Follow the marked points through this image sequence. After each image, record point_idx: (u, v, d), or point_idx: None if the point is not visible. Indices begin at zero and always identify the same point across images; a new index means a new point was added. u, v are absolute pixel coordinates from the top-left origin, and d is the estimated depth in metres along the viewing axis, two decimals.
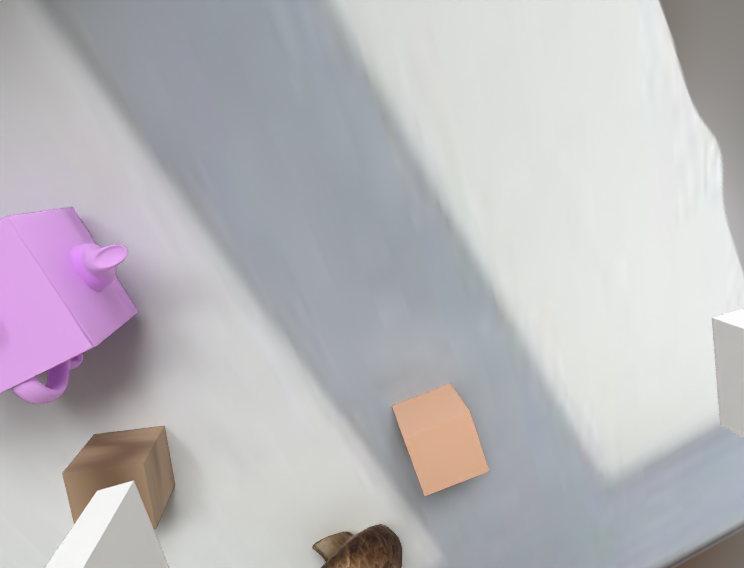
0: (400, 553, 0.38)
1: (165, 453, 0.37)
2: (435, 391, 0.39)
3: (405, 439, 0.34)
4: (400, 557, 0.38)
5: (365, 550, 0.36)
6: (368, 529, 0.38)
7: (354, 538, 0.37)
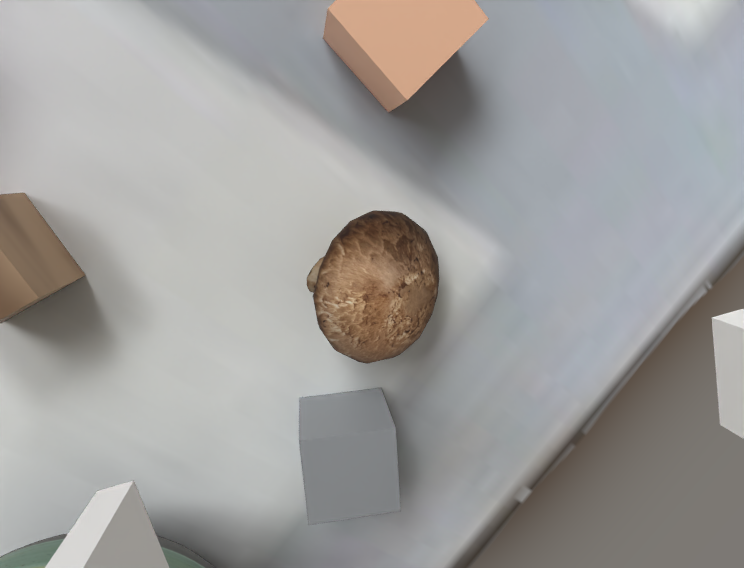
0: (424, 234, 0.26)
1: (39, 225, 0.25)
2: None
3: (332, 9, 0.21)
4: (426, 238, 0.25)
5: (361, 227, 0.23)
6: (363, 216, 0.25)
7: (344, 228, 0.24)
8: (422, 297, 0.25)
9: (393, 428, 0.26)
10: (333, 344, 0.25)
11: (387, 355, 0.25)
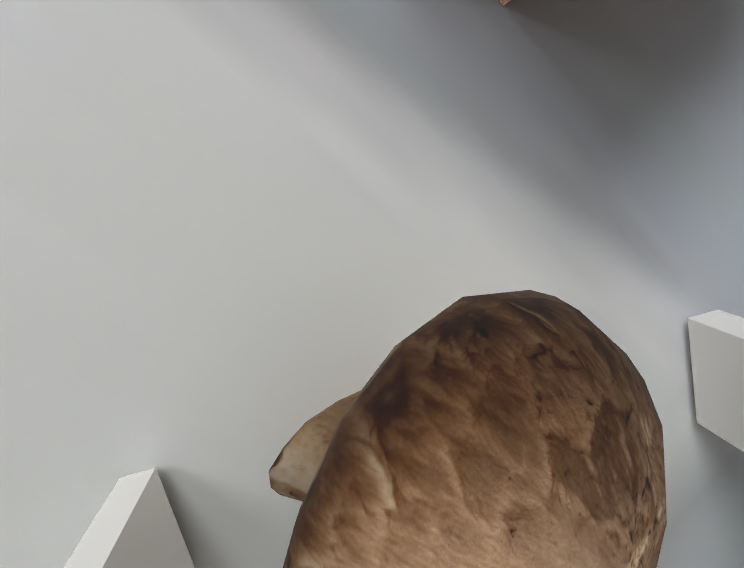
0: (632, 366, 0.08)
1: None
2: None
3: None
4: (641, 382, 0.08)
5: (456, 381, 0.06)
6: (442, 311, 0.08)
7: (385, 363, 0.07)
8: None
9: None
10: None
11: None
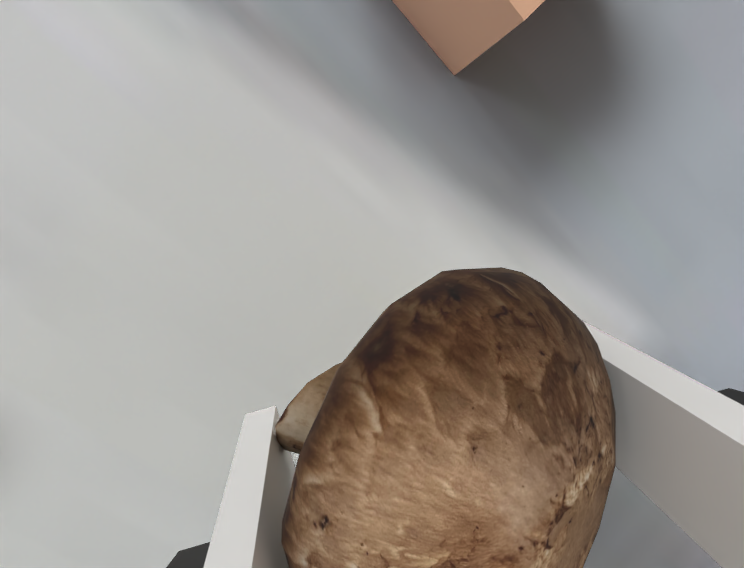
0: (587, 331, 0.10)
1: None
2: None
3: None
4: (594, 345, 0.09)
5: (432, 334, 0.07)
6: None
7: (375, 324, 0.08)
8: (592, 517, 0.09)
9: None
10: None
11: None
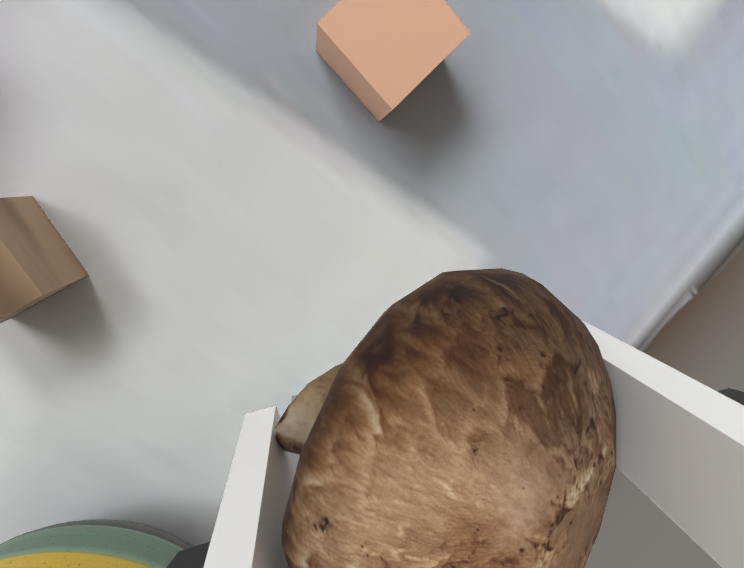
0: (587, 332, 0.10)
1: (45, 227, 0.26)
2: None
3: (321, 24, 0.22)
4: (594, 346, 0.09)
5: (433, 336, 0.07)
6: None
7: (375, 325, 0.08)
8: (593, 519, 0.09)
9: None
10: None
11: None
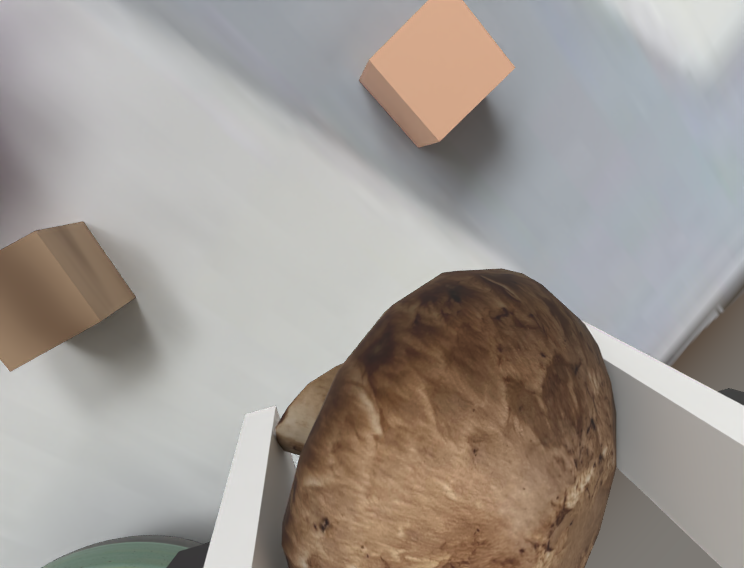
0: (587, 332, 0.10)
1: (96, 252, 0.27)
2: None
3: (372, 60, 0.23)
4: (595, 346, 0.09)
5: (433, 336, 0.07)
6: None
7: (375, 325, 0.08)
8: (593, 519, 0.09)
9: None
10: None
11: None
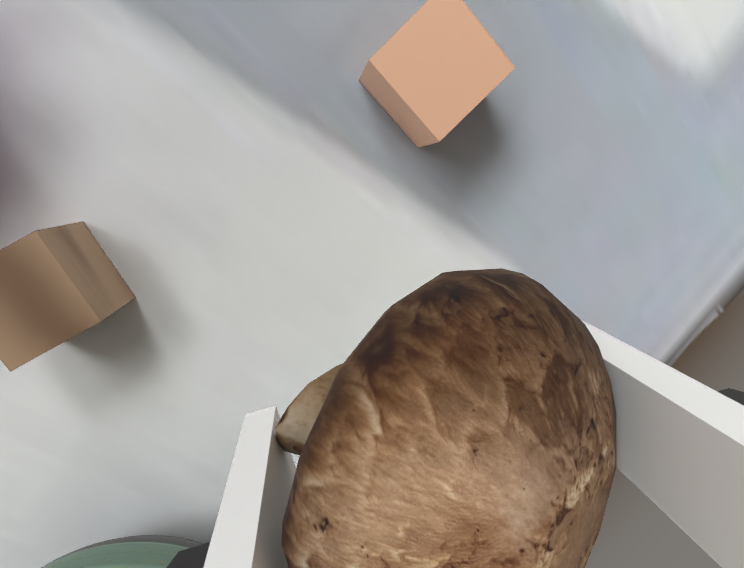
0: (587, 332, 0.10)
1: (97, 252, 0.27)
2: None
3: (372, 60, 0.23)
4: (595, 346, 0.09)
5: (433, 336, 0.07)
6: None
7: (375, 325, 0.08)
8: (593, 519, 0.09)
9: None
10: None
11: None
